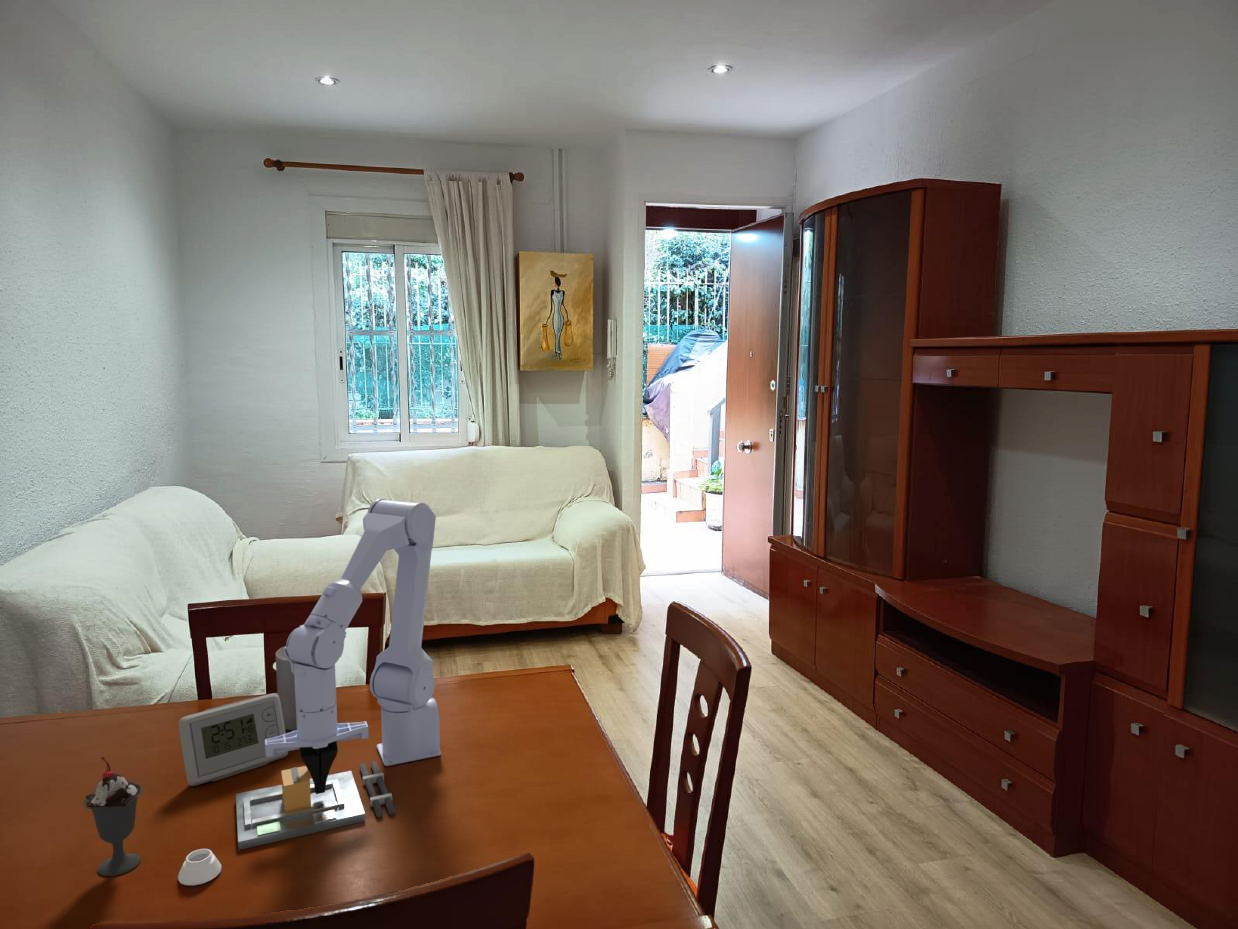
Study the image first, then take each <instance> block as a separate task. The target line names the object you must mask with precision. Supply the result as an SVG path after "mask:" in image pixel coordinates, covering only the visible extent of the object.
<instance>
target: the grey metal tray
mask: <svg viewBox="0 0 1238 929" xmlns="http://www.w3.org/2000/svg"><path fill="white" fill-rule="evenodd" d="M309 779H310V793H311V807H309V808H304V809H299V810H295V811H290V812H286V813H285V811H284V804H283V795H282V784H278V785H273V786H269V787H263V788H258V789H253V790H249V791H243V792H240V793H239V792H238V793H235V801H236V802H235V804H236V826H237V847H238V851H241V850H245V849H250V848H254V847H258V846H259V847H260V846H264V845H265V844H266V845H267V844H270V843H275V842H279V841H284V840H288V839H293V838H297V837H301V836H307V835H310V834H314V833H319V832H323V831H324V832H325V831H327V830H333V829H336V828H340V827H345V826H350V825H354V824H359V823H362V822H366V812H365V809H364V806H363V802H362V799H361V797H360V794H359V790H358V788H357V784H356V781H355V778H354V775H353V772H352V770H348V771H343V772H338V773H334V774H332V773H331V774H328V777H327V781H326V786H325V792H324V793H320V794H316V793H315V788H314V782H313V779H312V778H309Z"/></svg>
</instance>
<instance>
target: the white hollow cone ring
mask: <svg viewBox="0 0 1238 929" xmlns="http://www.w3.org/2000/svg"><path fill="white" fill-rule="evenodd" d="M221 872H222V864H221V862H220V861H219V859H218V858H217V857H216V855H215V854H214V853H213V852H212V850H210V849H208V848H200V849H199V848H198V849H196V850H193V851H191V852H190V853H189V854H188V855H186V857H185V860H184V862H183V864H182V866H181V868H180V870H179V872H178V875H177V880H178V881H179V883H180V884H181V885H184V886H197V885H203V884H205V883H207V882H209V881H212V880H214V878H217V877H218V875H219V874H220V873H221Z"/></svg>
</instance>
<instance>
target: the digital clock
mask: <svg viewBox="0 0 1238 929" xmlns="http://www.w3.org/2000/svg"><path fill="white" fill-rule="evenodd" d="M177 723H178V727H177V728H178V733H179V739H180V745H181V746H180V747H181V753H182V758H183V765H184V771H185V777H186V778H185V779H186V781H187V784H188V785H189V786H191V787H194V786H195V787H196V786H199V785H202V784H205V783H208V782H211V781H212V782H217V781H220V780H222V779H226V778H229V777H233V776H236V775H238V774H241V773H245V772H247V771H251V770H254V769H257V768H260V767H263V766H266V765H269V763H271V762H274V761H277V760H281V759H283V758H286V757H287V755H289V751H286V752H280V753H275V754H274V755H273V756H270V757H266V753H265V739H269V738H274V737H277V736H280V735H283V734H286V729H285V726H284V720H283V714H282V708H281V703H280V698H279V695H278V694H277V692H275V693H268V694H264V695H261V696H257V697H249V698H246V699H241V700H238V701H234V702H233V701H232V702H229V703H226V704H223V705H219V706H215V707H212V708H207V709H204V710H203V711H200V712H196V713H191V714H189V715H185V716H183V717H181V718H179V720H178V722H177Z"/></svg>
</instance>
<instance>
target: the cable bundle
mask: <svg viewBox="0 0 1238 929" xmlns="http://www.w3.org/2000/svg"><path fill="white" fill-rule="evenodd" d="M370 767H371V769H372V772H373V774H369V770H368V767H367V765H366V763H363V762H362V763H360V764H359V770H360V773H361V775H362V785H363V786H365V787H366V791H367V793H368V796H369V804H370V807H371V808H372V807H373V810H374V813H375V815H376V818H377V819H378V818H382V817H384V812H383V810H382V809H383V808H382V807H381V806H382V805H385V806H386V810H387V812H388V814H389V816H393V815H395V813H396V808H395V805H394V803H393V795H392V792H389V790H388V788H387V786H386V783H385V773H384V772H381V770H380V768H379V765H378V763H377V761H376V760H373V761H371V763H370ZM374 784H377V785H378V789H379V791H380V793H381V794H380V795H377V792H376V790H375V787H374Z"/></svg>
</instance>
